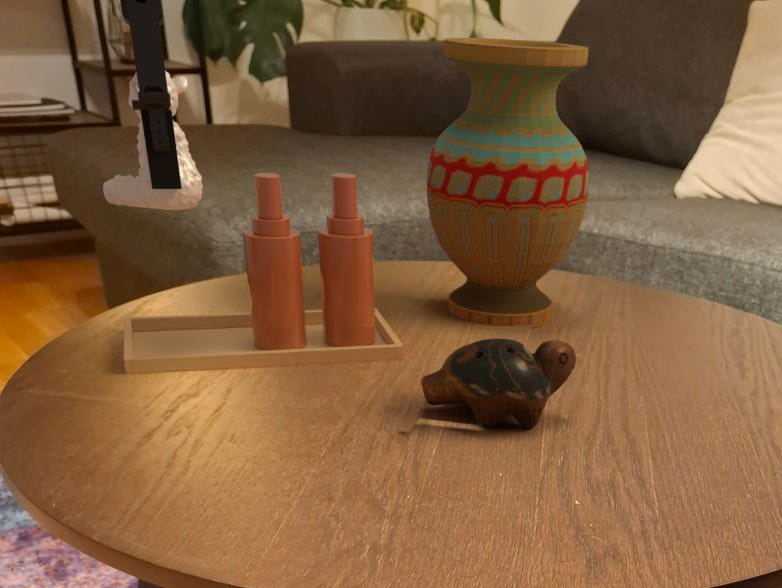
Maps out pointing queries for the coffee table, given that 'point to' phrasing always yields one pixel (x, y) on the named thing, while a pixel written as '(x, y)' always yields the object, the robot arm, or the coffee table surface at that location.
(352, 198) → the far bottle
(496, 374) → the decorative turtle
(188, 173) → the sitting furry creature
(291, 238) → the near bottle
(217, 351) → the tray
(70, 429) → the coffee table surface
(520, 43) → the vase
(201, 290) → the coffee table surface
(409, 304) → the coffee table surface
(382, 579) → the coffee table surface
